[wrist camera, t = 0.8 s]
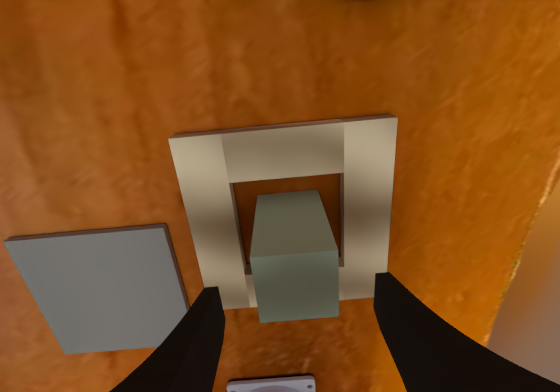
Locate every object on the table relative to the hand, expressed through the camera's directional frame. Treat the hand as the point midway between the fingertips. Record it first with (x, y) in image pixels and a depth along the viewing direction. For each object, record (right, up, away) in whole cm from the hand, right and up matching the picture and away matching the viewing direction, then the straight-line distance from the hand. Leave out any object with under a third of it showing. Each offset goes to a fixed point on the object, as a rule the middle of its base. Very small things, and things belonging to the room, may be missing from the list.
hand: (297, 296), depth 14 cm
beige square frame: (0, +3, +7) cm, 8 cm away
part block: (0, +3, +7) cm, 8 cm away
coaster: (-14, -3, +9) cm, 17 cm away
